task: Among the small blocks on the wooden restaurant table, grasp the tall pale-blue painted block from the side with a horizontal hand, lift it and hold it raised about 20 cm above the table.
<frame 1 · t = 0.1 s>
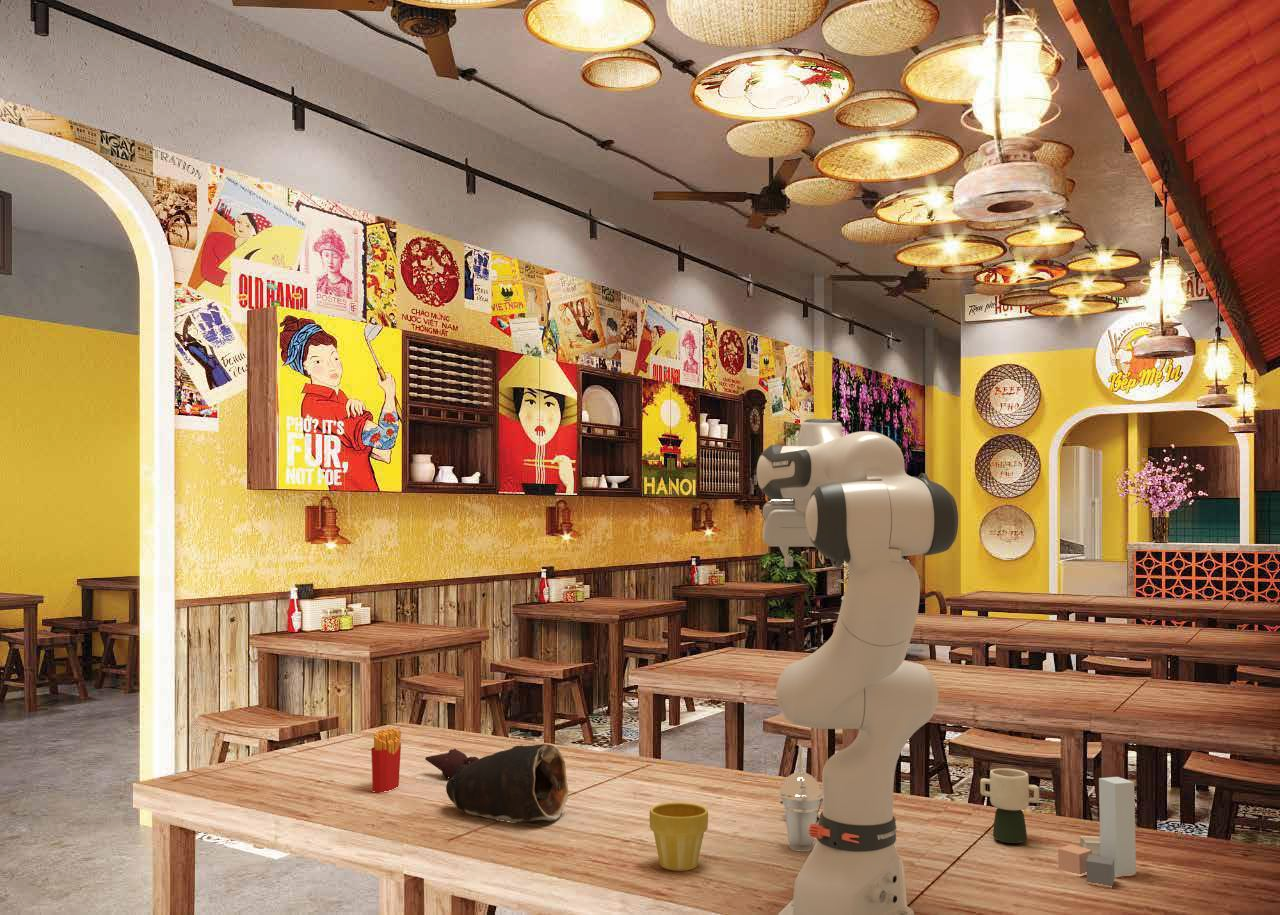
hand: (812, 566, 209), 52 cm above the table, tool tilted 20°, fingers open, 8 cm apart
game die: (803, 820, 218), on the table
terracotta cube: (1075, 872, 186), on the table
cup with straw: (800, 849, 199), on the table
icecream: (452, 779, 250), on the table
plant pot: (678, 866, 189), on the table
cream cube: (1094, 862, 192), on the table
french fries: (386, 789, 240), on the table
dark brown tapered cylinder: (501, 816, 220), on the table
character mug: (1010, 842, 203), on the table
charcoal cube: (1100, 883, 181), on the table
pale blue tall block: (1118, 873, 185), on the table
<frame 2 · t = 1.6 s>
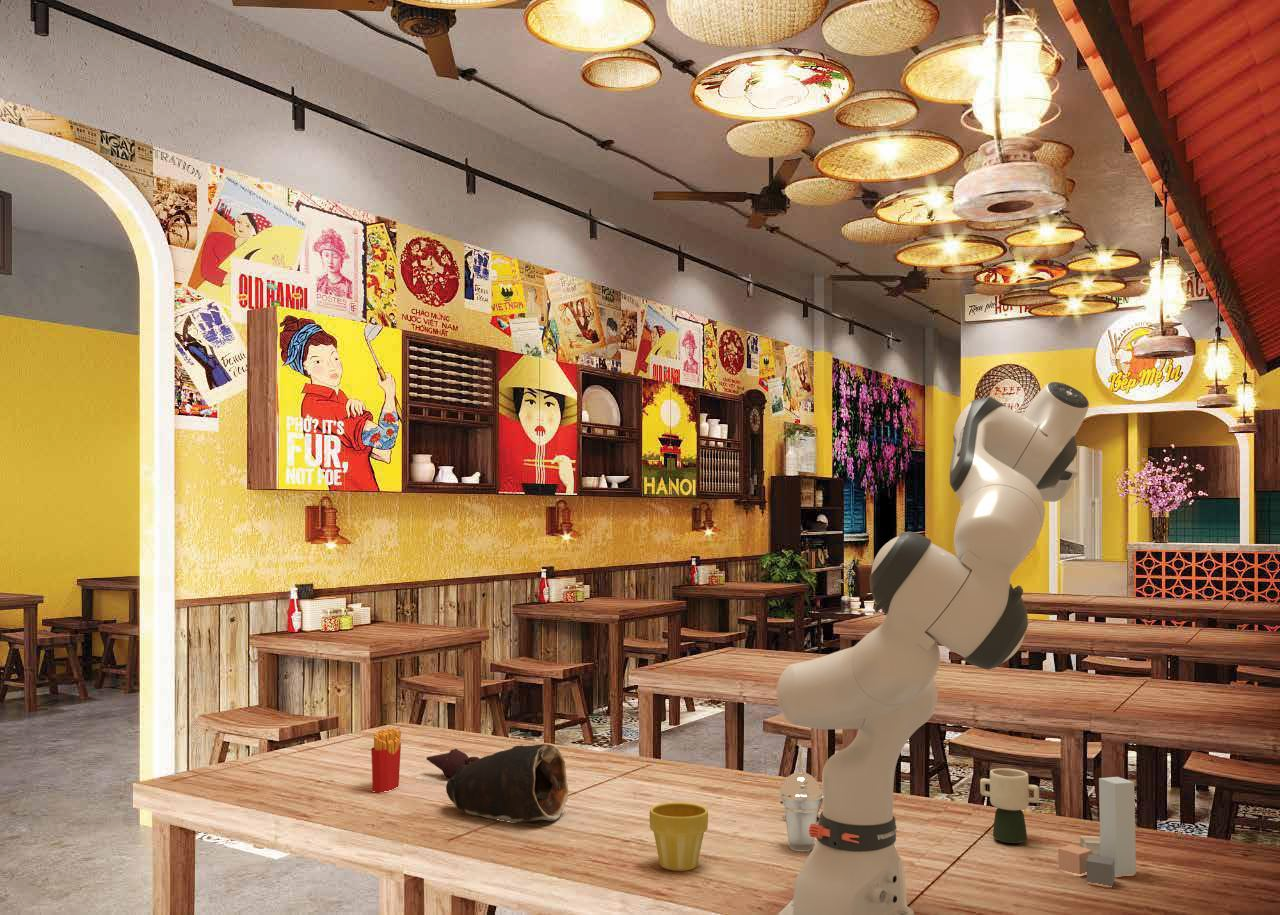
hand: (994, 509, 193), 63 cm above the table, tool tilted 50°, fingers open, 8 cm apart
nothing on the table moved.
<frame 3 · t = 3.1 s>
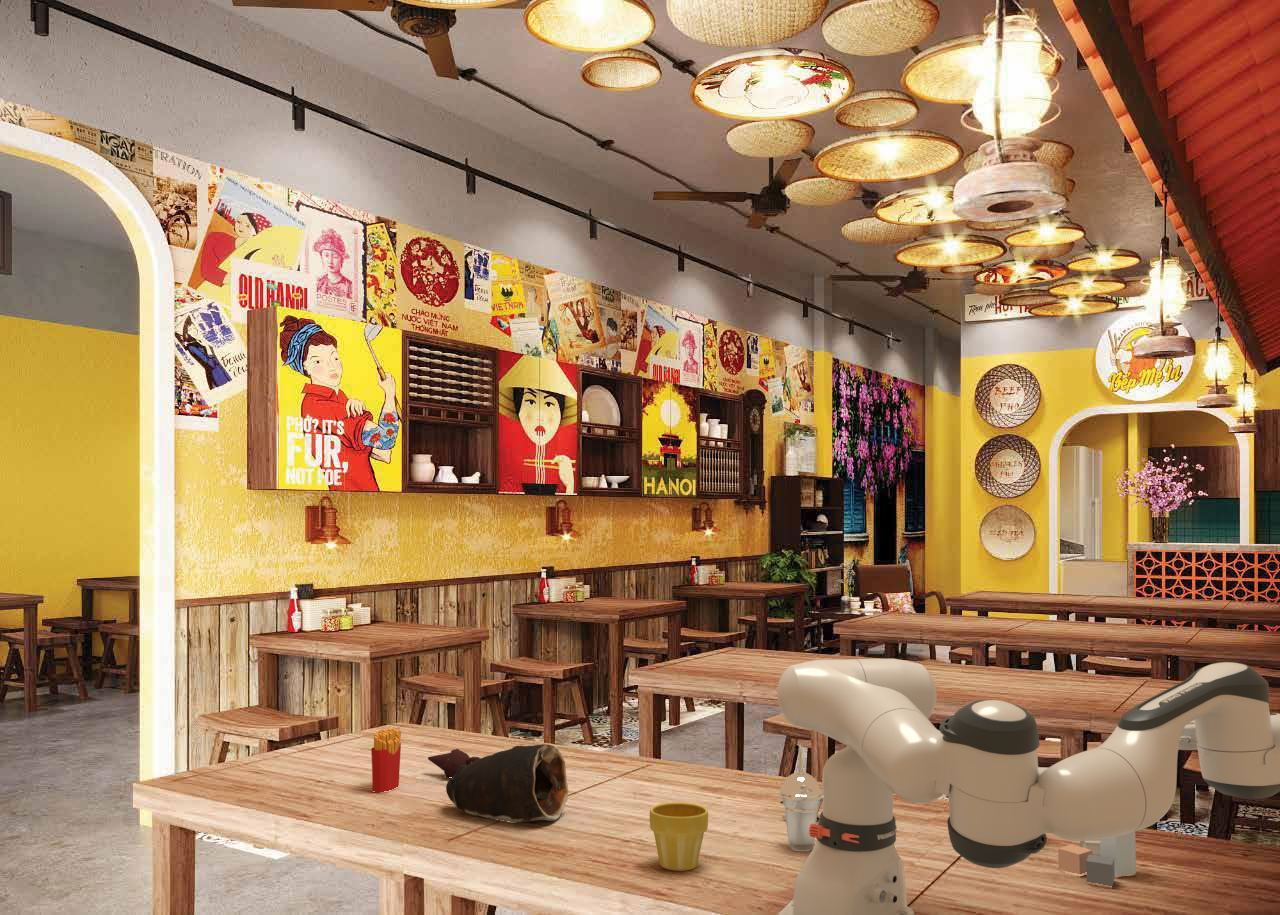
hand: (1171, 724, 175), 28 cm above the table, tool horizontal, fingers open, 8 cm apart
nothing on the table moved.
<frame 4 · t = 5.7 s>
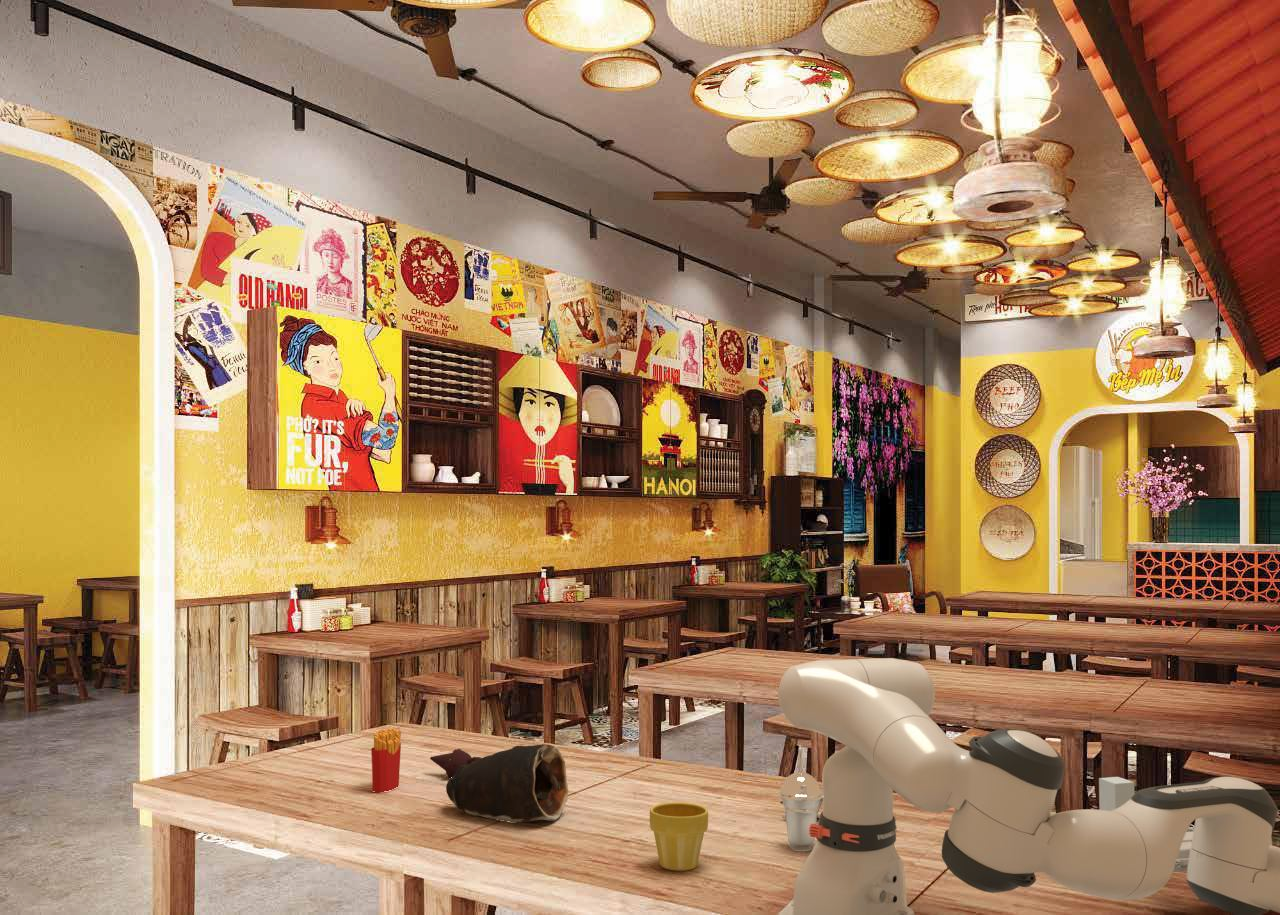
hand: (1160, 834, 177), 9 cm above the table, tool horizontal, fingers open, 8 cm apart
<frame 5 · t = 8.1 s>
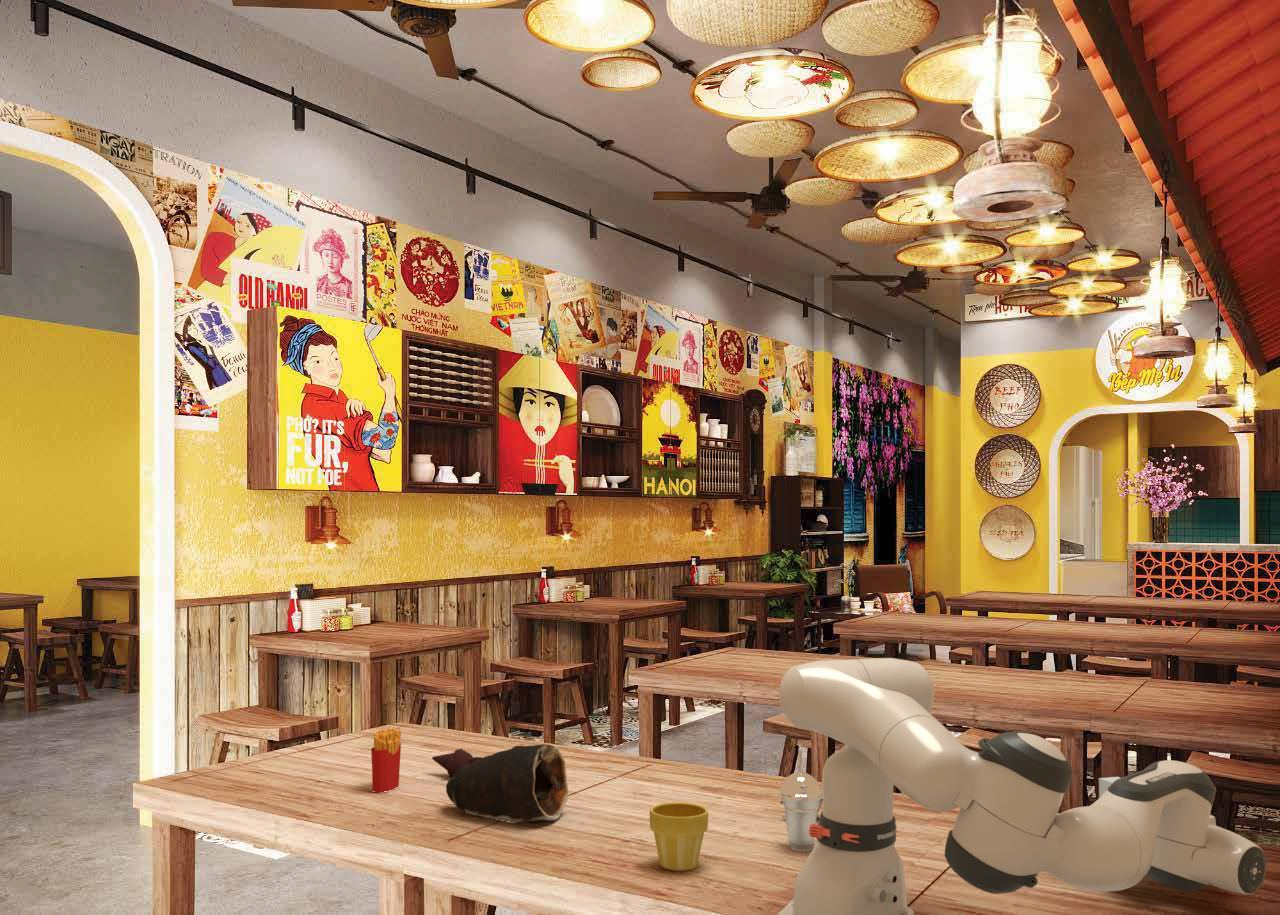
hand: (1113, 816, 187), 10 cm above the table, tool horizontal, fingers closed on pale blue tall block, 4 cm apart
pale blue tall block: (1118, 873, 186), on the table, touching gripper
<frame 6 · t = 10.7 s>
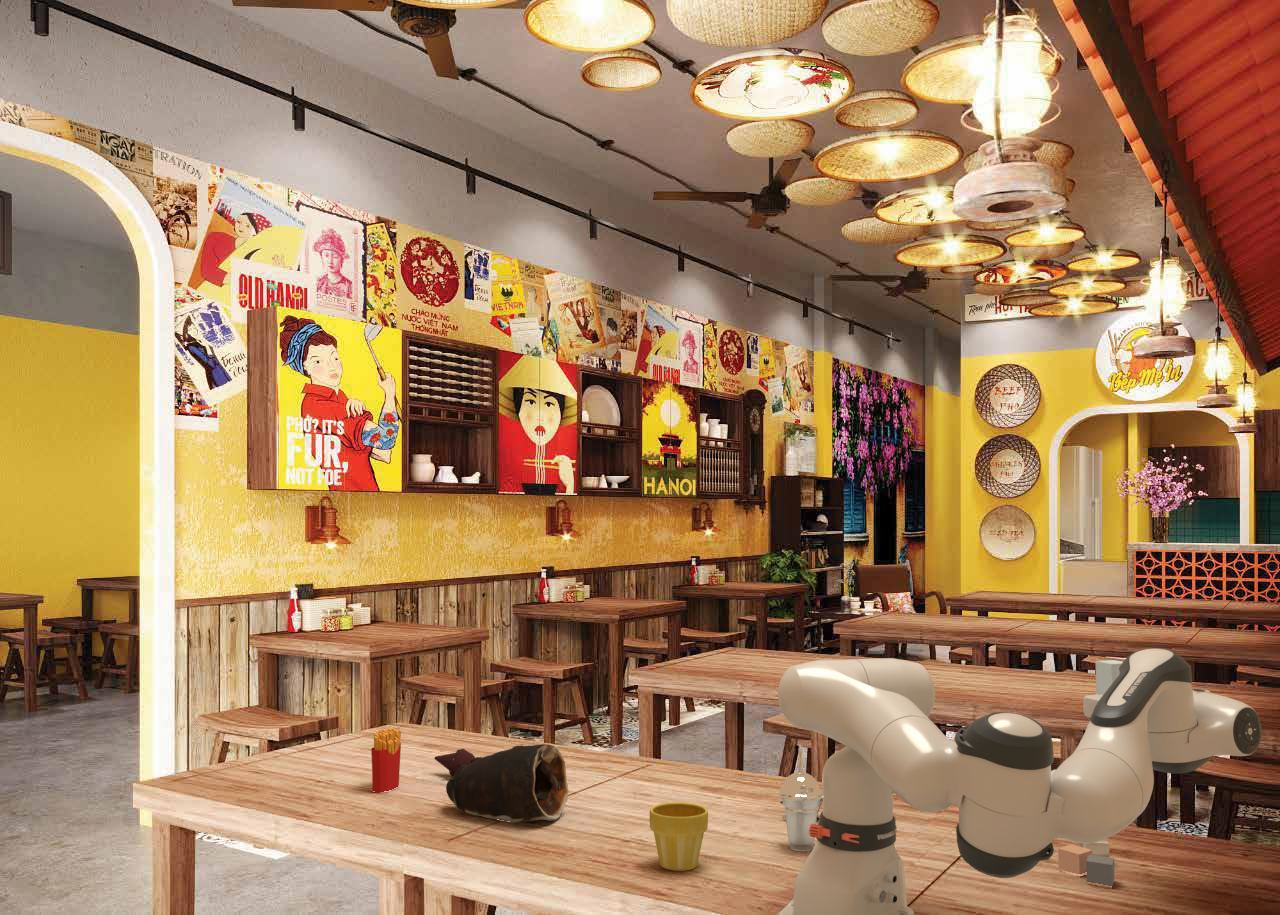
hand: (1110, 698, 188), 30 cm above the table, tool horizontal, fingers closed on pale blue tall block, 4 cm apart
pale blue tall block: (1114, 754, 187), point 20 cm above the table, touching gripper
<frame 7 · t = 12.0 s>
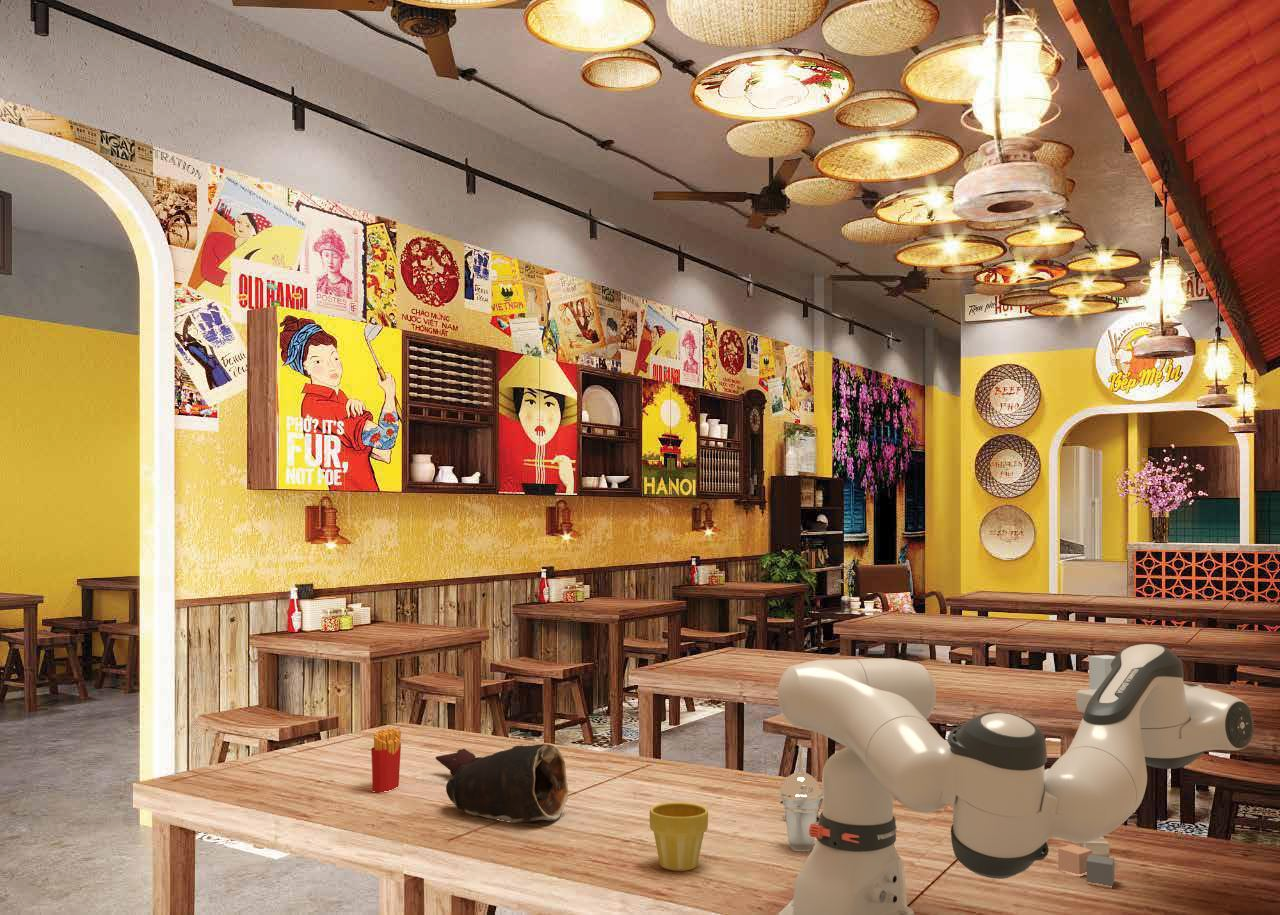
hand: (1103, 693, 188), 31 cm above the table, tool horizontal, fingers closed on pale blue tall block, 4 cm apart
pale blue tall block: (1108, 748, 186), point 21 cm above the table, touching gripper
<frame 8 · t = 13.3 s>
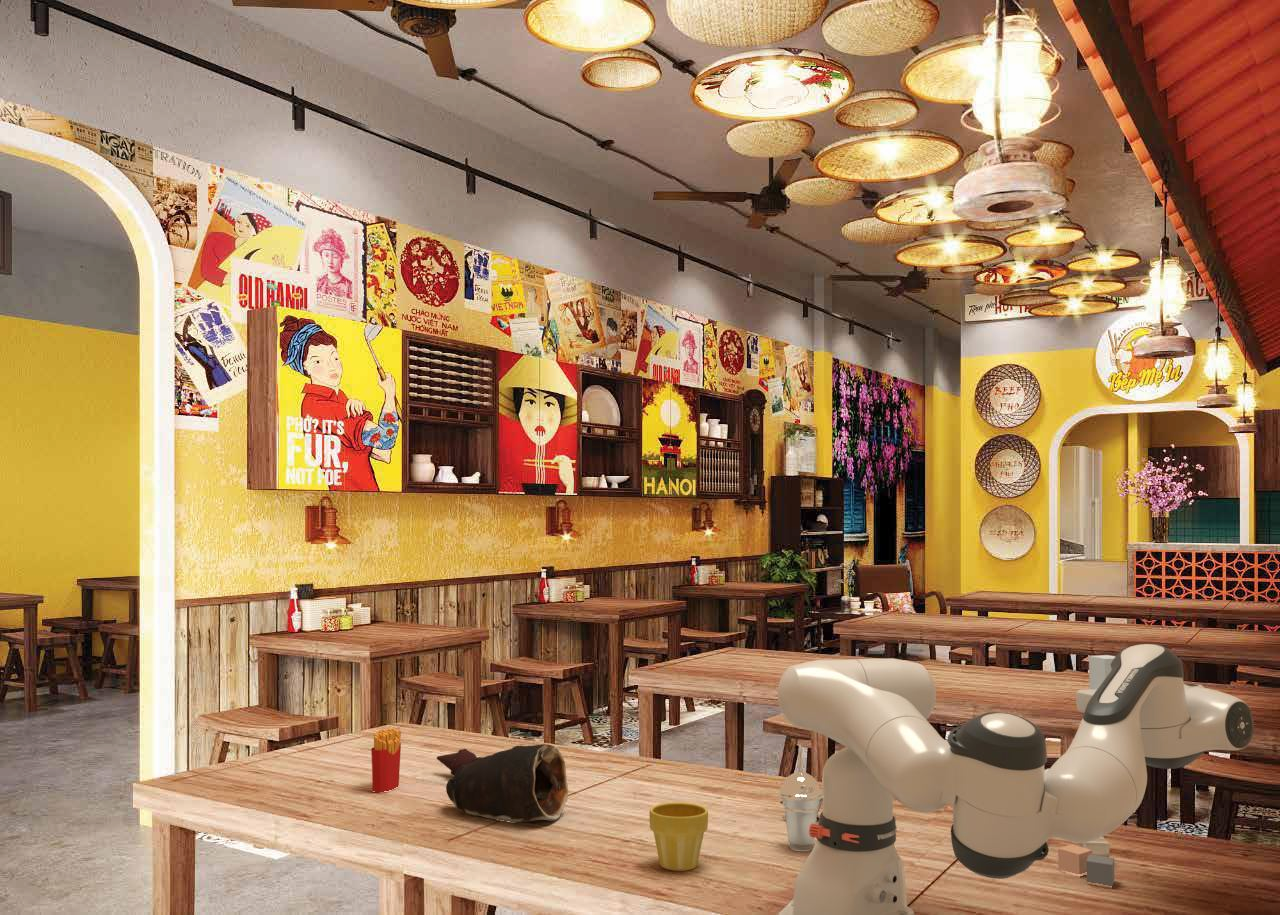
hand: (1103, 693, 188), 31 cm above the table, tool horizontal, fingers closed on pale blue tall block, 4 cm apart
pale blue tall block: (1108, 748, 186), point 21 cm above the table, touching gripper
at the end: the gripper is holding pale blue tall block; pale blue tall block point 21.4 cm above the table; charcoal cube moved 0.1 cm from its start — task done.
